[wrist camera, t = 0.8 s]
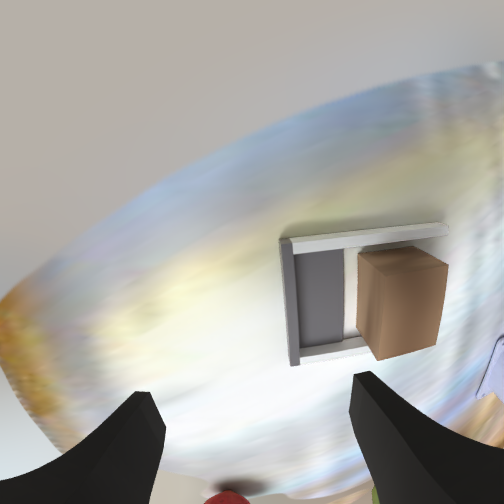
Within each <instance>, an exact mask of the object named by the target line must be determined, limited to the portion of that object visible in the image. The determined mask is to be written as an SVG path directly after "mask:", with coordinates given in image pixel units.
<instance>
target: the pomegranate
mask: <svg viewBox="0 0 504 504" xmlns="http://www.w3.org/2000/svg"><path fill="white" fill-rule="evenodd" d="M204 504H250V503H249V501H248V500H247V499H245V498H244V497H243V496H241V495H239V494H237V493H235V492H233V491H231V490H225V491H223V492H222V493H219V494H217V495H215V496H213V497H211V498H209V499H208V500H207V501H206V502H205V503H204Z"/></svg>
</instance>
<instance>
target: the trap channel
mask: <svg viewBox="0 0 504 504" xmlns="http://www.w3.org/2000/svg"><path fill="white" fill-rule="evenodd" d="M446 235H448V225H445V224H442V223H439V222H435V223H425V224H415V225H405V226H395V227H386V228H376V229H367V230H357V231H348V232H339V233H330V234H321V235H312V236H303V237H294V238H285V239H279V248H280V259H281V270H282V281H283V292H284V304H285V316H286V329H287V342H288V356H289V361H290V366H298V365H305V364H311V363H318V362H324V361H330V360H335V359H341V358H346V357H351V356H356V355H361V354H365V353H370V352H372V351H371V350H370V348H369V347H368V345H367V343H366V342H365V340H364V339H363V337H362V336H360V337H355V338H350V339H345V340H343V303H344V277H343V248H351V247H359V246H367V245H375V244H383V243H391V242H399V241H407V240H415V239H423V238H431V237H438V236H446Z"/></svg>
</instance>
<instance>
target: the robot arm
mask: <svg viewBox="0 0 504 504" xmlns="http://www.w3.org/2000/svg"><path fill="white" fill-rule="evenodd" d="M492 392H494V393H495V395H496V396H497V397H498V398H499V399H500V400H501V401H502V403H503V404H504V337H503V338H501V339H500V340H499V341H498V342H497V344H496V347H495V350H494V353H493V355H492V358H491V361H490V364H489V366H488V369H487V372H486V374H485V377H484V379H483V382H482V384H481V386H480V389H479V391H478V393H477V395H476V398H477V400H479V399H481V398H483V397H484V396H486V395H488V394H490V393H492ZM349 414H350V418H351V422H352V426H353V430H354V434H355V437H356V439H357V442H358V444H359V447H360V449H361V451H362V454H363V456H364V459H365V461H366V464H367V466H368V469H369V471H370V474H371V476H372V479H373V481H374V484H375V487H376V491H377V495H378V499H379V503H380V504H504V449H501V448H497V447H493V446H489V445H486V444H483V443H480V442H477V441H475V440H472V439H469V438H467V437H464V436H462V435H460V434H458V433H456V432H454V431H452V430H450V429H448V428H446V427H444V426H442V425H440V424H439V423H437V422H435V421H434V420H432V419H431V418H429V417H428V416H426V415H425V414H423V413H422V412H420V411H419V410H417V409H416V408H415V407H413V406H412V405H411V404H409V403H408V402H407V401H406V400H404V399H403V398H402V397H400V396H399V395H398V394H397V393H396V392H394V391H393V390H392V389H391V388H390V387H388V386H387V385H386V384H385V383H384V382H383V381H381V380H380V379H379V378H378V377H377V376H376V375H375V374H373V373H372V372H371V371H366V372H362V373H358V374H354V376H353V385H352V393H351V401H350V408H349ZM165 433H166V426H165V424H164V422H163V419H162V417H161V415H160V413H159V411H158V409H157V407H156V405H155V402H154V400H153V398H152V396H151V394H150V392H139V391H135V392H134V393H133V394H132V395H131V396H130V397H129V398H128V399H127V400H126V401H125V402H123V403H122V404H121V405H120V406H119V407H118V408H117V409H116V410H115V411H114V412H113V413H112V414H111V415H110V416H109V417H108V418H107V419H106V420H105V421H104V422H103V423H102V424H101V425H100V426H99V427H98V428H96V429H95V430H94V431H93V432H92V433H91V434H89V435H88V436H87V437H86V438H85V439H83V440H82V441H81V442H80V443H79V444H77V445H76V446H75V447H73V448H72V449H70V450H69V451H67V452H66V453H64V454H63V455H62V456H60V457H58V458H57V459H55V460H53V461H51V462H49V463H47V464H45V465H43V466H42V467H40V468H38V469H35V470H33V471H30V472H28V473H26V474H23V475H20V476H17V477H14V478H10V479H5V480H1V481H0V504H149V500H150V496H151V492H152V488H153V485H154V481H155V478H156V474H157V470H158V467H159V463H160V460H161V456H162V452H163V448H164V441H165Z"/></svg>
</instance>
